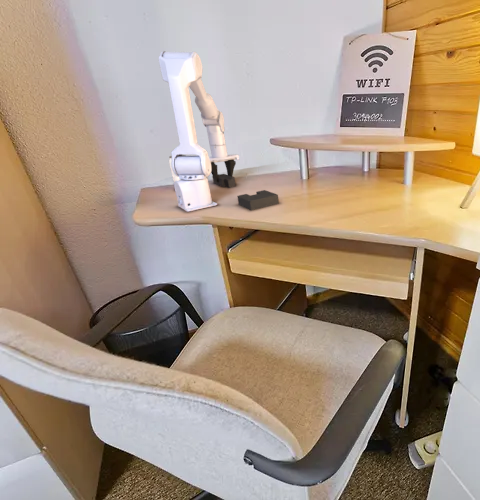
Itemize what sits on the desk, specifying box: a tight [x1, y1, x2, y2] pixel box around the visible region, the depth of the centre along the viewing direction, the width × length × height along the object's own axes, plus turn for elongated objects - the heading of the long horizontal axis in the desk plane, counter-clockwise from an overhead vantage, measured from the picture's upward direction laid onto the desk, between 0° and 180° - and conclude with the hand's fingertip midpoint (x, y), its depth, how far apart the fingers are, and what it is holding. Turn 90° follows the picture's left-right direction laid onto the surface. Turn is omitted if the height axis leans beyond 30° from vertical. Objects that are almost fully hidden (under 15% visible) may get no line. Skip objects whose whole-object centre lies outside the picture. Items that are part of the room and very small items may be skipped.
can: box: [168, 154, 187, 183], centre depth 117 cm, size 6×6×12 cm
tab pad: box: [211, 173, 237, 189], centre depth 125 cm, size 5×11×3 cm, turn 45°
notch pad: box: [236, 189, 280, 211], centre depth 102 cm, size 10×8×3 cm
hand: (223, 180), depth 126 cm, fingers closed on tab pad, 5 cm apart
